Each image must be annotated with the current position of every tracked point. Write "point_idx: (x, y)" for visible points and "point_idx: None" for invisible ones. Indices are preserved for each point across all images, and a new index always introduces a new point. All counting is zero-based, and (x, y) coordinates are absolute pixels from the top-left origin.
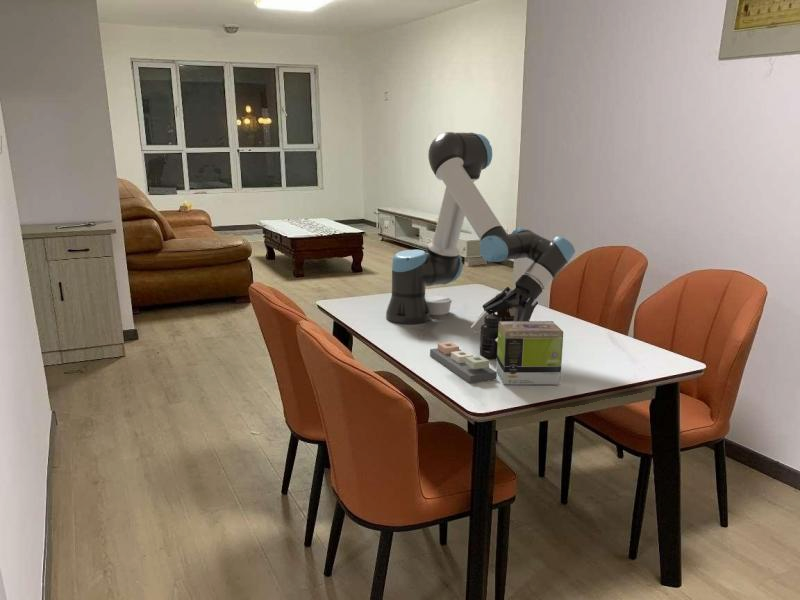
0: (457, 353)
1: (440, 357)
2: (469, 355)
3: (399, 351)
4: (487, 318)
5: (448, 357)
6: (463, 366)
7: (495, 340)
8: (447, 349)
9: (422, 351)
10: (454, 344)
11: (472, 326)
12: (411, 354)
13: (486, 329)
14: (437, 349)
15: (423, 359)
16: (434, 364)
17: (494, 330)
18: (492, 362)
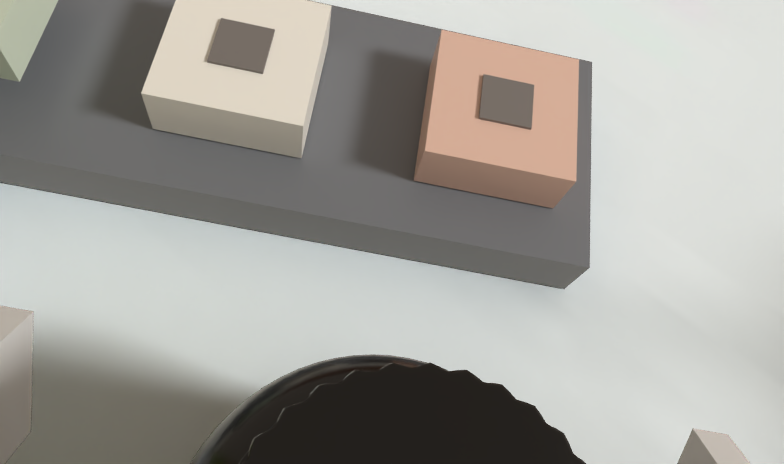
0: (271, 21)
1: (412, 31)
2: (161, 63)
3: (717, 2)
4: (387, 368)
5: (358, 48)
6: (120, 6)
7: (26, 312)
8: (435, 57)
9: (674, 111)
10: (499, 156)
11: (710, 444)
12: (639, 23)
13: (325, 367)
14: None
15: (519, 22)
16: (399, 16)
17: (201, 453)
18: (177, 423)
